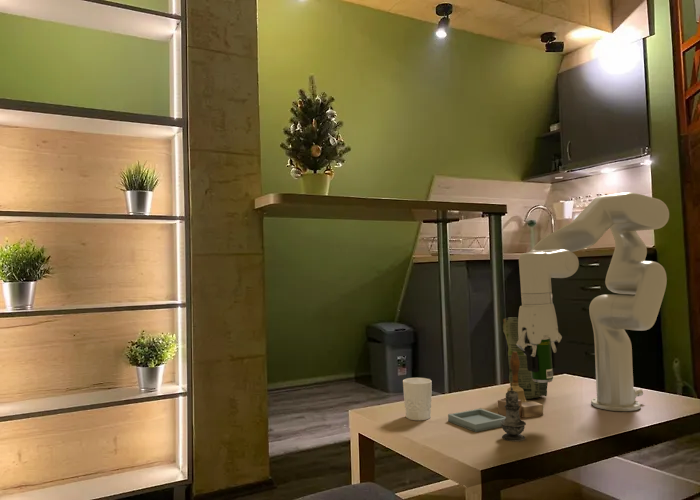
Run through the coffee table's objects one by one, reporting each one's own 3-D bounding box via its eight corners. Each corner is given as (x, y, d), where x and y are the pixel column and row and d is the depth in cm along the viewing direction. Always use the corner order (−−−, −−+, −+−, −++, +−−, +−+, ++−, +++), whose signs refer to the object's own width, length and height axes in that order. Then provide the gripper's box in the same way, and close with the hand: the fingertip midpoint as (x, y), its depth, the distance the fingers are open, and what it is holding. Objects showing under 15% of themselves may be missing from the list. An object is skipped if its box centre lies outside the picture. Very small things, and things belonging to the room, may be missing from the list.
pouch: (502, 395, 169) (499, 315, 170) (525, 389, 176) (522, 312, 177) (532, 402, 160) (529, 317, 161) (556, 395, 167) (552, 314, 168)
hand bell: (504, 402, 161) (502, 349, 161) (533, 405, 157) (531, 350, 158) (498, 409, 154) (496, 353, 154) (528, 412, 150) (526, 354, 150)
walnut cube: (507, 413, 150) (506, 397, 150) (522, 416, 146) (521, 400, 146) (498, 417, 147) (497, 400, 147) (512, 420, 143) (512, 403, 143)
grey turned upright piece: (497, 434, 132) (495, 385, 132) (520, 433, 132) (518, 383, 132) (506, 442, 126) (504, 390, 126) (530, 441, 126) (528, 389, 127)
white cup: (435, 414, 151) (434, 378, 151) (429, 422, 143) (428, 384, 144) (407, 412, 153) (406, 377, 154) (400, 420, 146) (399, 382, 146)
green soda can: (557, 379, 140) (554, 333, 140) (546, 384, 136) (543, 336, 136) (538, 377, 144) (535, 331, 144) (527, 381, 141) (524, 334, 141)
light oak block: (533, 412, 151) (533, 401, 151) (543, 415, 147) (542, 404, 147) (515, 414, 149) (515, 403, 149) (524, 418, 145) (524, 407, 145)
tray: (480, 414, 149) (480, 408, 149) (509, 424, 139) (508, 417, 139) (448, 421, 144) (448, 414, 144) (475, 431, 134) (475, 424, 134)
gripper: (549, 295, 148) (553, 362, 147) (501, 302, 140) (506, 372, 140) (571, 297, 141) (576, 366, 141) (522, 303, 133) (528, 377, 133)
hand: (541, 368), depth 140 cm, fingers closed on green soda can, 5 cm apart
